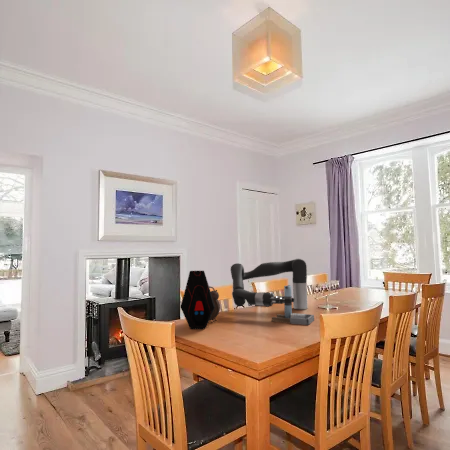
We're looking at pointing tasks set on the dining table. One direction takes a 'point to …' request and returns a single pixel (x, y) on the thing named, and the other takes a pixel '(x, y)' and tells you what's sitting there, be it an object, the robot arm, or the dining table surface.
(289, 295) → the rod
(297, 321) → the tray
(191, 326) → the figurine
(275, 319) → the slot rails
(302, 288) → the robot arm
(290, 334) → the dining table surface
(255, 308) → the dining table surface
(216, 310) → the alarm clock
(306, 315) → the chip
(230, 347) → the dining table surface
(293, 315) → the chip
